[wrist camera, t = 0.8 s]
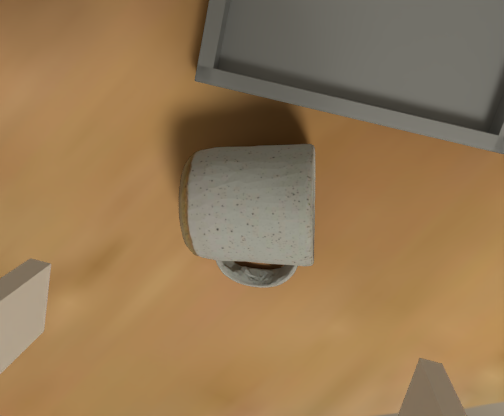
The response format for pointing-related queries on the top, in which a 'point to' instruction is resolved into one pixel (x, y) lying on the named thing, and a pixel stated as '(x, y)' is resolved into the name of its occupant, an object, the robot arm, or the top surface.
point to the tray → (368, 61)
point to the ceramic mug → (250, 209)
